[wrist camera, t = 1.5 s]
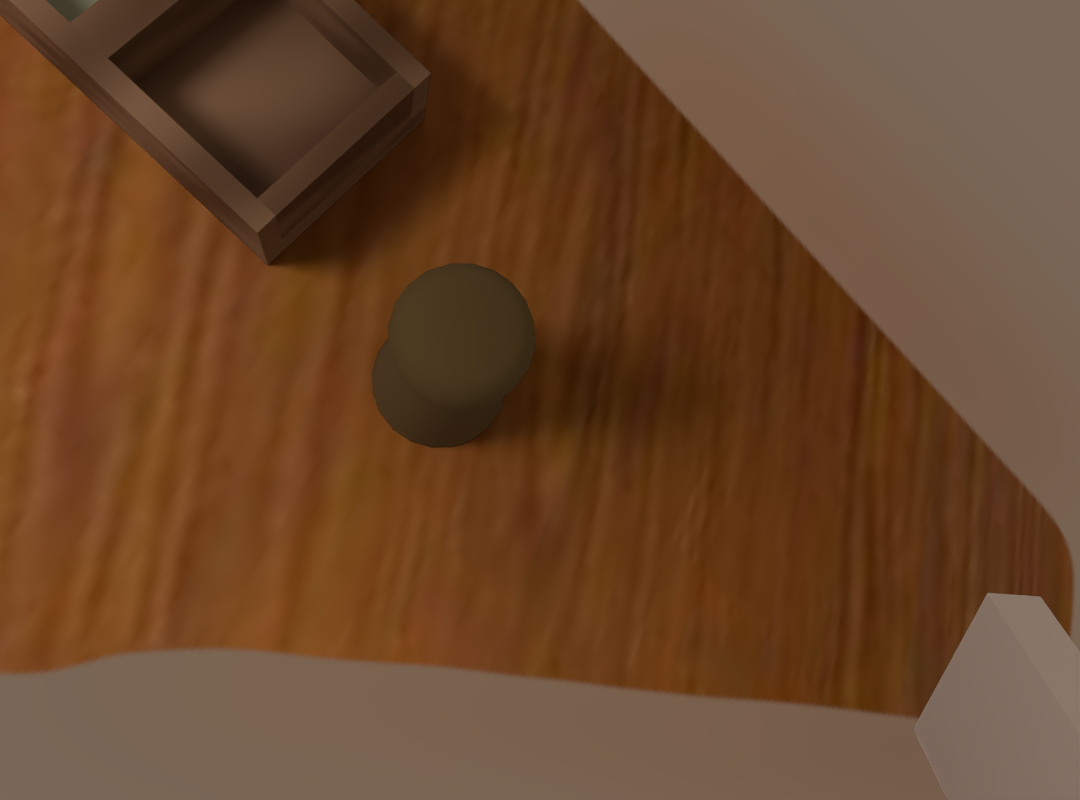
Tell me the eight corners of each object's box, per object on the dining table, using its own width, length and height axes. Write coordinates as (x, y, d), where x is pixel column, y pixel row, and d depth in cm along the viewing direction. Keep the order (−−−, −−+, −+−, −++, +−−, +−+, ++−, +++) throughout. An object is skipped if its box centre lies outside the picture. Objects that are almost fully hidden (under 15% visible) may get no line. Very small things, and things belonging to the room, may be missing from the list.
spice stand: (-72, -53, 41) (-123, -124, 37) (104, -183, 43) (76, -265, 39) (267, 265, 42) (257, 232, 37) (423, 119, 44) (430, 73, 40)
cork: (465, 293, 43) (501, 210, 33) (530, 407, 43) (587, 362, 32) (347, 353, 42) (343, 287, 31) (413, 472, 42) (432, 447, 31)
